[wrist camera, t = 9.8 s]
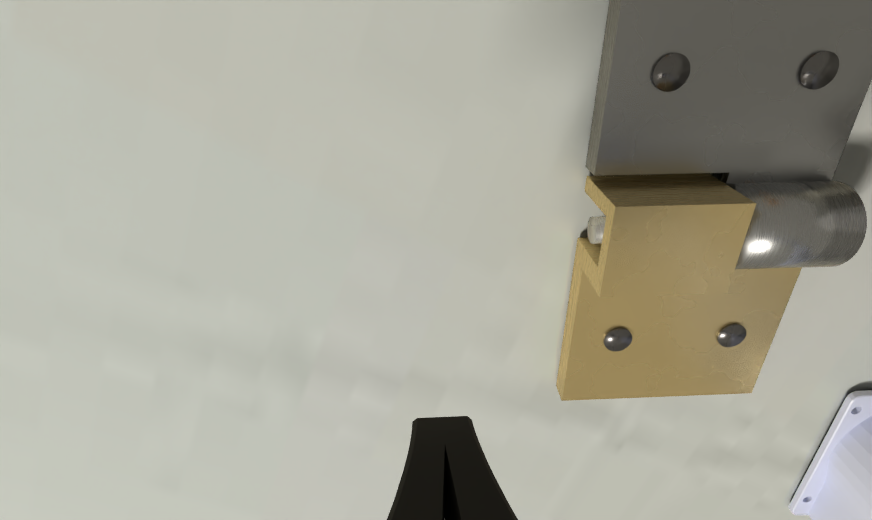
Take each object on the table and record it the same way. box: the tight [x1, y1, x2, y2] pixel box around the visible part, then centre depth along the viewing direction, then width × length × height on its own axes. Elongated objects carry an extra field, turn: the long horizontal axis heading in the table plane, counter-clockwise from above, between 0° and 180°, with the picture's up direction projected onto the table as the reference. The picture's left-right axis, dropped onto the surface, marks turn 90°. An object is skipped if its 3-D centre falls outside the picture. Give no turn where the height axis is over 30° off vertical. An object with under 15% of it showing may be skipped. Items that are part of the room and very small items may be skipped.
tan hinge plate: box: [556, 173, 802, 401], centre depth 20 cm, size 10×9×3 cm
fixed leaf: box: [586, 0, 872, 269], centre depth 17 cm, size 10×9×3 cm
